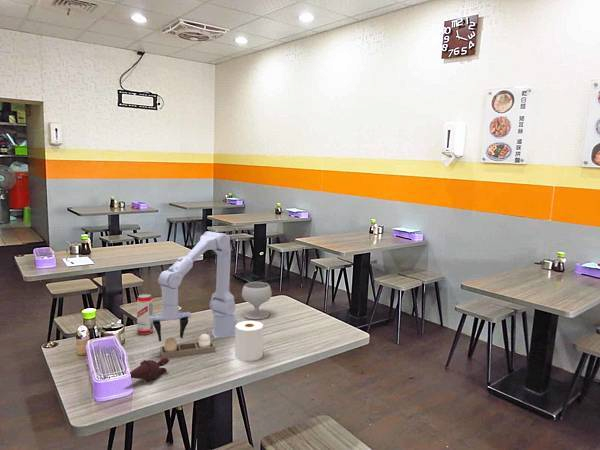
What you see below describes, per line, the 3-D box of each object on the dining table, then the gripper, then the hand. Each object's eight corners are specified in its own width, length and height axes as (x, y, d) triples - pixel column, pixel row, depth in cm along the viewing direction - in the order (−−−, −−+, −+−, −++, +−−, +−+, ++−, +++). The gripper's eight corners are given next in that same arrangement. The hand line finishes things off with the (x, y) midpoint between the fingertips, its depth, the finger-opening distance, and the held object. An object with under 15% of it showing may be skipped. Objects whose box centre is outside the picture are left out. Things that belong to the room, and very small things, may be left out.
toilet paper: (266, 352, 168) (266, 321, 166) (258, 363, 158) (258, 331, 156) (240, 349, 170) (241, 319, 168) (231, 360, 160) (231, 328, 158)
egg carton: (212, 345, 172) (212, 339, 172) (215, 353, 165) (215, 347, 165) (160, 352, 165) (159, 346, 164) (161, 360, 158) (161, 354, 158)
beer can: (148, 336, 180) (147, 298, 178) (134, 334, 181) (133, 297, 179) (156, 330, 186) (155, 294, 184) (142, 329, 187) (141, 293, 185)
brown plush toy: (132, 373, 135) (175, 362, 146) (121, 360, 139) (164, 350, 150) (128, 392, 136) (171, 380, 147) (118, 379, 141) (160, 368, 152)
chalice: (276, 313, 211) (277, 283, 209) (261, 322, 199) (262, 290, 197) (251, 309, 217) (251, 279, 215) (235, 317, 204) (236, 286, 202)
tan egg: (176, 350, 166) (175, 335, 165) (177, 355, 162) (177, 339, 161) (163, 352, 164) (163, 336, 163) (165, 357, 160) (165, 341, 159)
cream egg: (209, 346, 170) (209, 331, 169) (211, 351, 166) (211, 335, 165) (197, 348, 168) (197, 332, 168) (199, 352, 164) (199, 336, 164)
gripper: (188, 298, 167) (188, 332, 168) (148, 302, 161) (149, 337, 163) (191, 303, 160) (192, 339, 162) (150, 308, 154) (150, 344, 156)
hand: (170, 338), depth 162 cm, fingers open, 7 cm apart
